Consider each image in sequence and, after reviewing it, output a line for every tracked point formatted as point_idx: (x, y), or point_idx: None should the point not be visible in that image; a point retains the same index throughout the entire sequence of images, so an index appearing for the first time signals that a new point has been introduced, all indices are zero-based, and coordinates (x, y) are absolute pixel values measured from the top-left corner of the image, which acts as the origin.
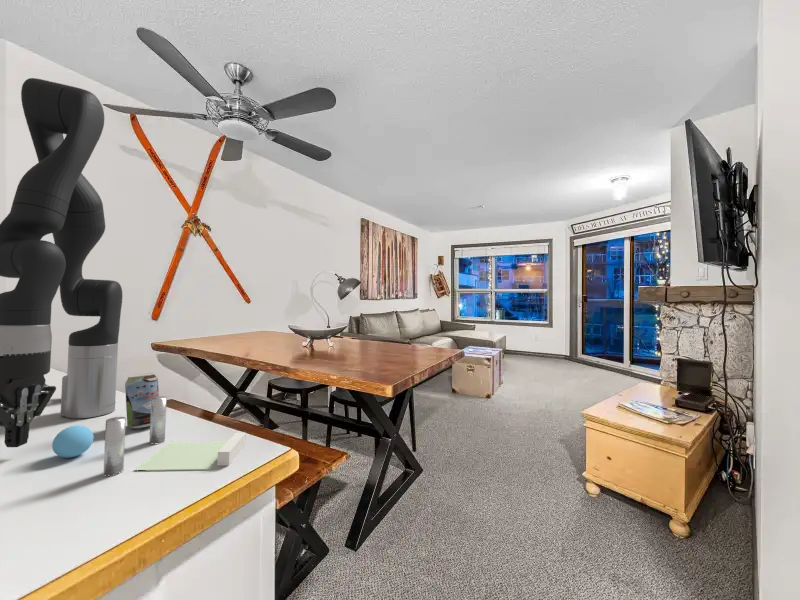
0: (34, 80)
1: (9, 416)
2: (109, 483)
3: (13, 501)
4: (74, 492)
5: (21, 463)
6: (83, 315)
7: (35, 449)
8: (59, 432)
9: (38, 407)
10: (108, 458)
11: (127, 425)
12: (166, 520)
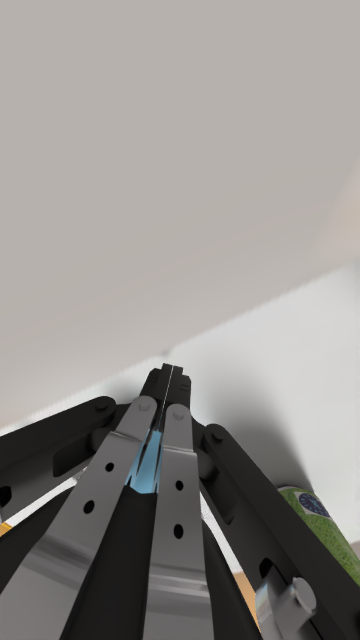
0: None
1: (75, 470)
2: (67, 487)
3: (31, 421)
4: None
5: (144, 380)
6: None
7: (212, 373)
8: (137, 477)
9: (206, 499)
10: None
11: (280, 492)
12: (5, 524)
